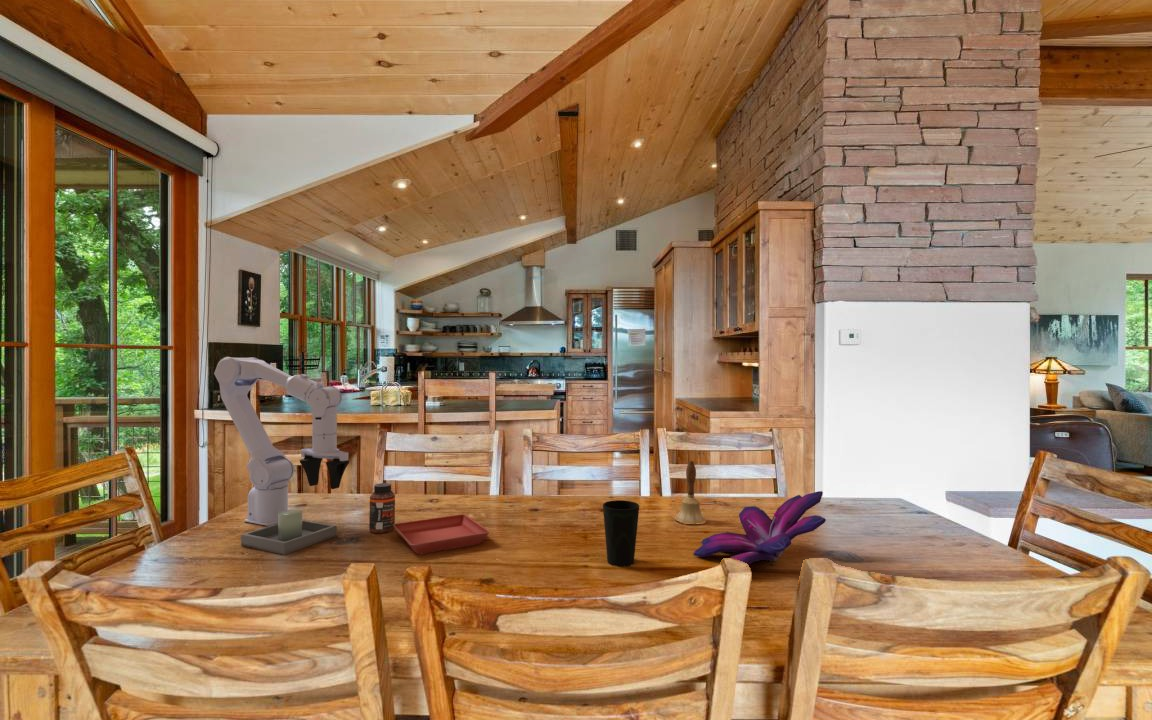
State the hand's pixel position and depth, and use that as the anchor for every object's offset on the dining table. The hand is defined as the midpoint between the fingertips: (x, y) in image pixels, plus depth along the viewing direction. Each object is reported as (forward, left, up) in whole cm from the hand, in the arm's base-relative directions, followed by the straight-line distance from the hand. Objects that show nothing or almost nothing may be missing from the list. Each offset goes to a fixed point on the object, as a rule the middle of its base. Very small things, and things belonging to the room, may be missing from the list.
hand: (324, 486), depth 140 cm
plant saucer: (+35, +2, -10) cm, 36 cm away
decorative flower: (+104, +20, -10) cm, 107 cm away
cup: (+78, +7, -10) cm, 79 cm away
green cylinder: (+4, -13, -9) cm, 16 cm away
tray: (+4, -13, -9) cm, 17 cm away
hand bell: (+85, +43, -10) cm, 96 cm away
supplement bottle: (+18, +2, -10) cm, 20 cm away
